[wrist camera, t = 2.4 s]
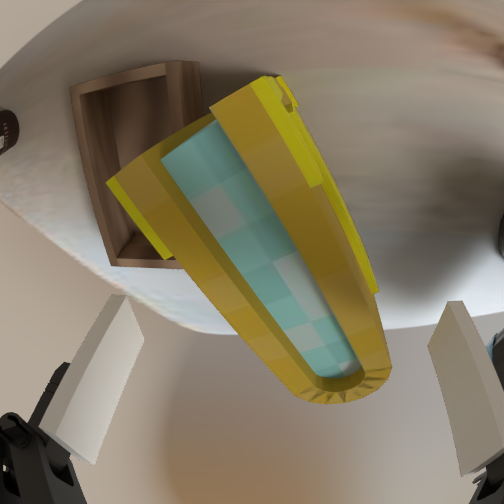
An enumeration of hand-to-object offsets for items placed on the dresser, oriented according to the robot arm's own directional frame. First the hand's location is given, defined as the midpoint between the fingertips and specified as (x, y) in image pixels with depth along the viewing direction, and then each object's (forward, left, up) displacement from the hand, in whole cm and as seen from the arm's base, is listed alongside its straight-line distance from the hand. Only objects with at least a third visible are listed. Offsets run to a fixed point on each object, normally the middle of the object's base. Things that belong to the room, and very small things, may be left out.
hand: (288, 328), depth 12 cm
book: (0, 0, -26) cm, 26 cm away
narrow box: (+16, 0, -26) cm, 30 cm away
